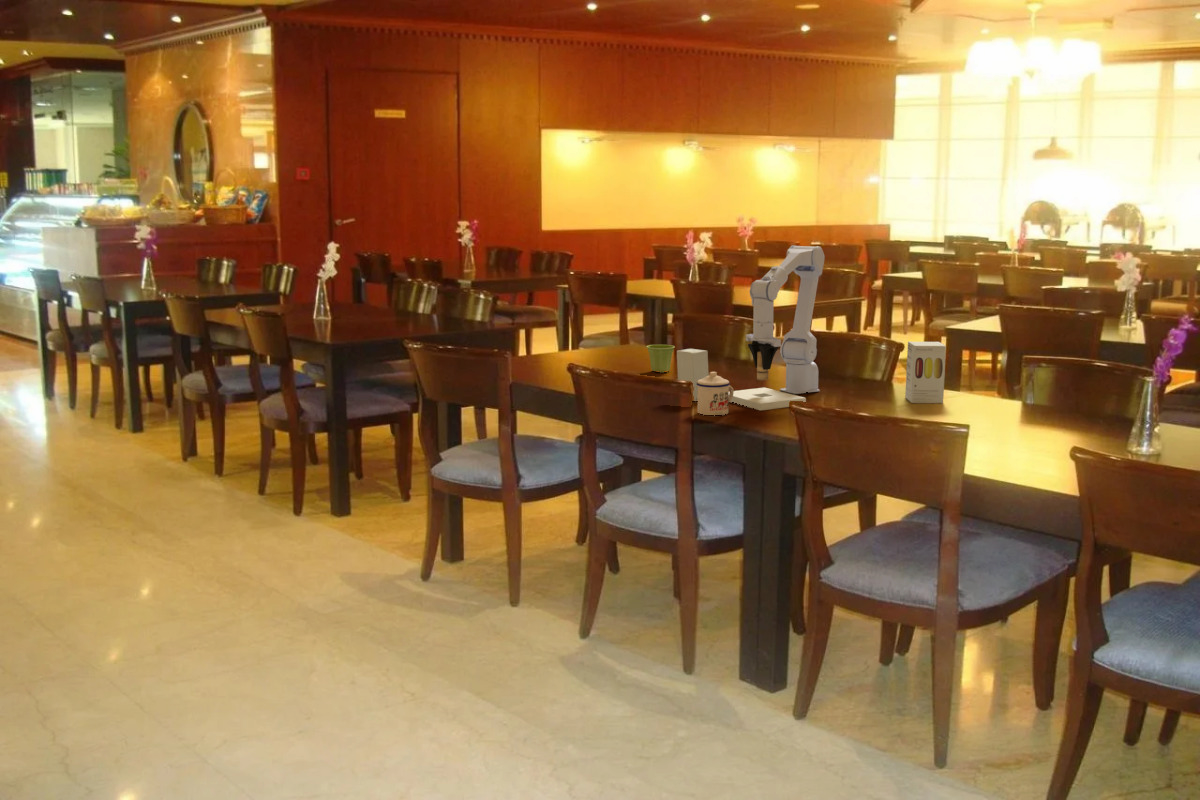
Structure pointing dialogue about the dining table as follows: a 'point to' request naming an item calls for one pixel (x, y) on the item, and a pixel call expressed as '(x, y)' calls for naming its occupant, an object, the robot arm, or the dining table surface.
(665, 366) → the plant pot
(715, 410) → the teacup with lid
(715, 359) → the dining table surface
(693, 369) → the skincare box
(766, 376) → the peg
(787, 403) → the board
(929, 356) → the supplement box
